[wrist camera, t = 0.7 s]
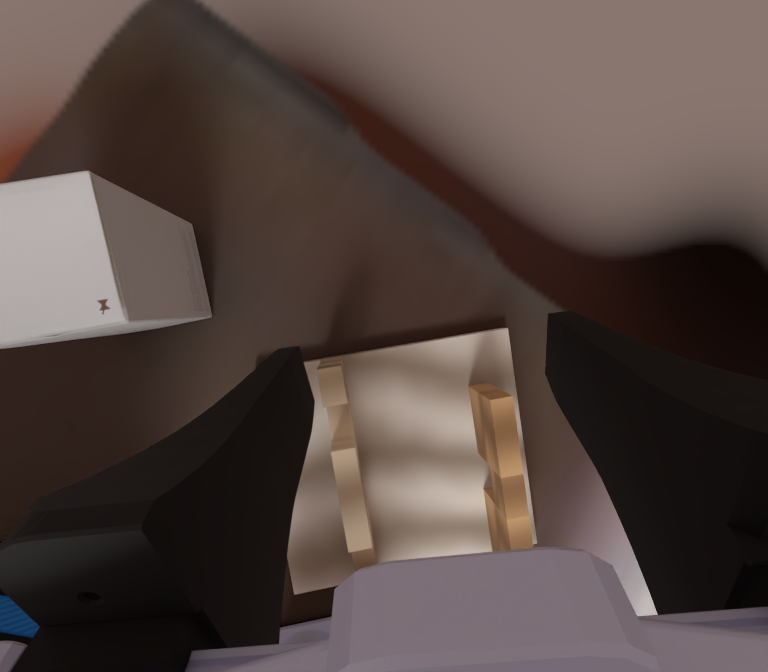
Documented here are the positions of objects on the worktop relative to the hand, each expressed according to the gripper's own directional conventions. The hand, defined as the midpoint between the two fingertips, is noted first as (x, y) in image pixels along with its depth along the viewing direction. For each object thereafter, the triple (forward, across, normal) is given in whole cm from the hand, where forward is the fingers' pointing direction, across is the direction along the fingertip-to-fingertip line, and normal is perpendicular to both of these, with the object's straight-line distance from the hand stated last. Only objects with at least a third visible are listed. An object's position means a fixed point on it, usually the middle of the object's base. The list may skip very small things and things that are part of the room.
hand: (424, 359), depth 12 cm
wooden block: (+14, -4, +20) cm, 25 cm away
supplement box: (+19, +19, +2) cm, 27 cm away
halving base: (+15, +3, +18) cm, 24 cm away
